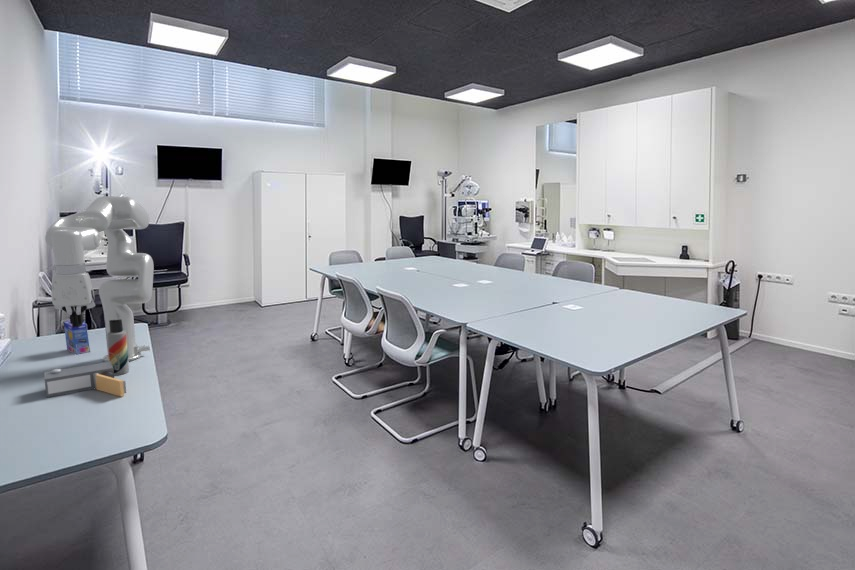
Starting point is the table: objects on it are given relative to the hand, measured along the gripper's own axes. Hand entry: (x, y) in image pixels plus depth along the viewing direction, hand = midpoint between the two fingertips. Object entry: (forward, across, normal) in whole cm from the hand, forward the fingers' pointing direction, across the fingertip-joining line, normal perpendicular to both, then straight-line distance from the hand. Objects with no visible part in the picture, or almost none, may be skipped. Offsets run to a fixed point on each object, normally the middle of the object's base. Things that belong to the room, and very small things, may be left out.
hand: (77, 325), depth 149 cm
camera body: (+22, -2, +3) cm, 22 cm away
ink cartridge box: (+24, -19, +48) cm, 57 cm away
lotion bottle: (+23, +5, +16) cm, 28 cm away
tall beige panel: (+21, +8, -4) cm, 23 cm away
